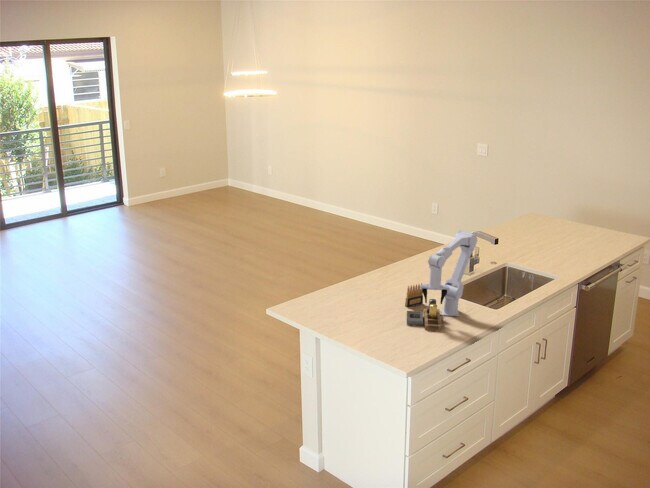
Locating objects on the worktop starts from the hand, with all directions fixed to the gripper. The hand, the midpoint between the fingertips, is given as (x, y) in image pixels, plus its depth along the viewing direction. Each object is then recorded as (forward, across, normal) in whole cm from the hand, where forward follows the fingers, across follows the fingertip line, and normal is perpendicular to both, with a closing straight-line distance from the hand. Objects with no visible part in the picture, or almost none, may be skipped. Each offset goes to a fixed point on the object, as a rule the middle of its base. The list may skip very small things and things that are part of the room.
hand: (433, 302), depth 363 cm
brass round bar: (+10, 0, 0) cm, 10 cm away
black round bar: (+10, 0, +7) cm, 12 cm away
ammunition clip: (+11, -9, +20) cm, 24 cm away
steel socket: (+10, -9, 0) cm, 14 cm away
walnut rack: (+10, 0, 0) cm, 10 cm away
